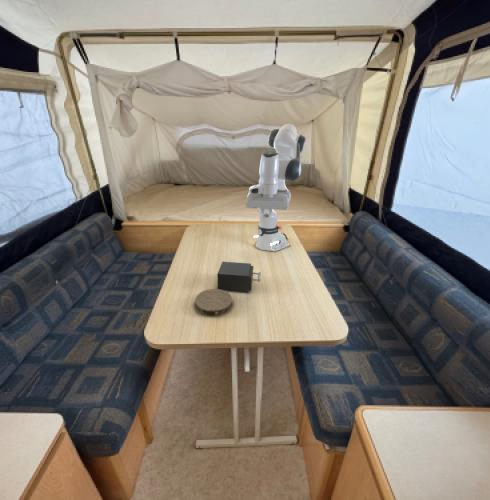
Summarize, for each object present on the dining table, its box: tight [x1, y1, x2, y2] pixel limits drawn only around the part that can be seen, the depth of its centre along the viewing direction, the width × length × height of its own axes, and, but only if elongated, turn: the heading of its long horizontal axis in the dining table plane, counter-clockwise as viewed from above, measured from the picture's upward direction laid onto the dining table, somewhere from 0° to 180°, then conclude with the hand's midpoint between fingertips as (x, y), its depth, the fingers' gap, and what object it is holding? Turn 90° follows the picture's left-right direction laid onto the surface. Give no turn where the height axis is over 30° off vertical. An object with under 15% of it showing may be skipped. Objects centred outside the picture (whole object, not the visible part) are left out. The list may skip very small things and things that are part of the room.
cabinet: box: [216, 261, 252, 294], centre depth 130 cm, size 15×13×9 cm
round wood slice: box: [194, 288, 233, 317], centre depth 116 cm, size 16×16×3 cm
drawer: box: [248, 265, 262, 292], centre depth 129 cm, size 18×11×7 cm, turn 82°
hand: (266, 217), depth 129 cm, fingers closed
